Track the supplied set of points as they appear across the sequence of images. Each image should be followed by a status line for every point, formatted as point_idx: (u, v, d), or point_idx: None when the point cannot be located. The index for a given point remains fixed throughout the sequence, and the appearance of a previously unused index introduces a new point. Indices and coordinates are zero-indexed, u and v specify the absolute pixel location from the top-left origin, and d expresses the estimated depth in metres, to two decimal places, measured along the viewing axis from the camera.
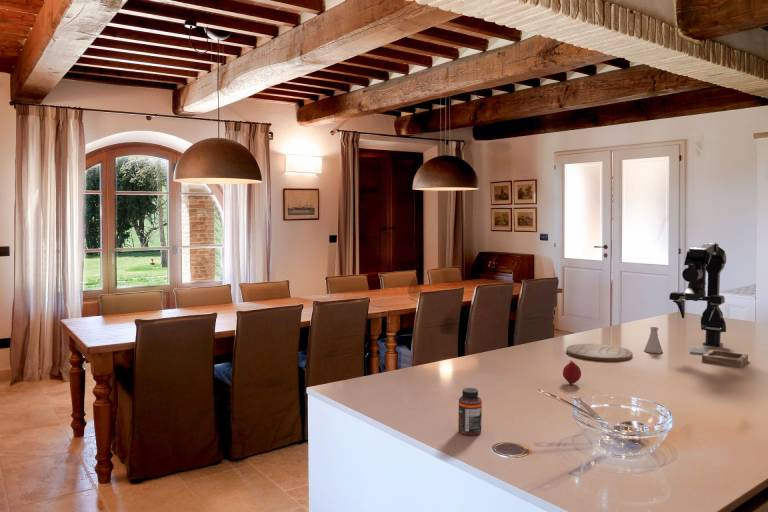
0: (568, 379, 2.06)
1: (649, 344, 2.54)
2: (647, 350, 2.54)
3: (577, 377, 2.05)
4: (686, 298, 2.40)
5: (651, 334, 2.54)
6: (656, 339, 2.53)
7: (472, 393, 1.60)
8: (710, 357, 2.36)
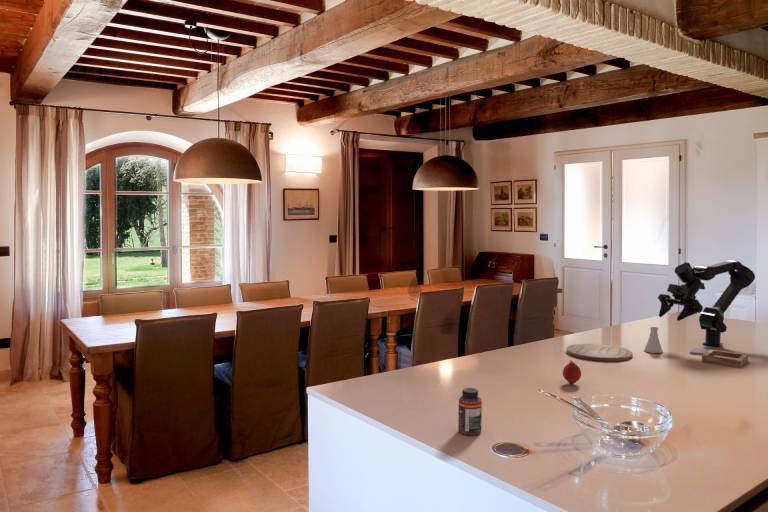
0: (568, 379, 2.06)
1: (649, 344, 2.54)
2: (647, 350, 2.54)
3: (577, 377, 2.05)
4: (668, 289, 2.58)
5: (651, 334, 2.54)
6: (656, 339, 2.53)
7: (472, 393, 1.60)
8: (710, 357, 2.36)
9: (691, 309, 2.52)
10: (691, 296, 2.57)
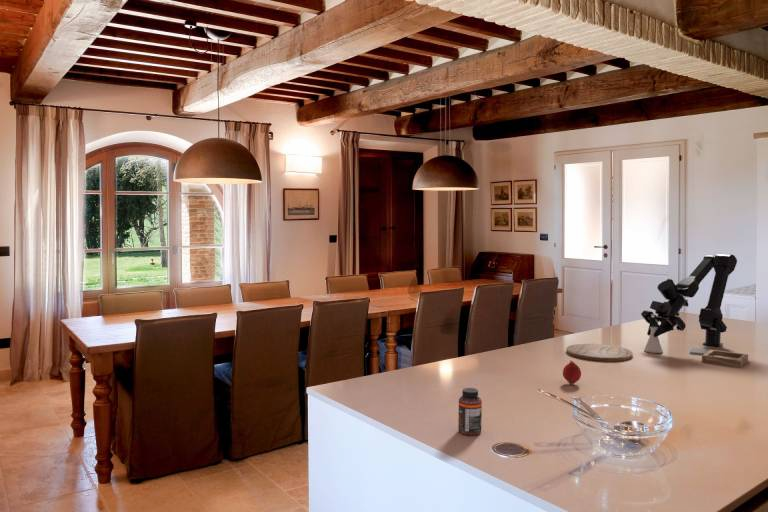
0: (568, 379, 2.06)
1: (649, 343, 2.54)
2: (647, 350, 2.54)
3: (577, 377, 2.05)
4: (650, 306, 2.55)
5: (651, 334, 2.54)
6: (656, 339, 2.53)
7: (472, 393, 1.60)
8: (710, 357, 2.36)
9: (668, 325, 2.52)
10: (674, 313, 2.54)
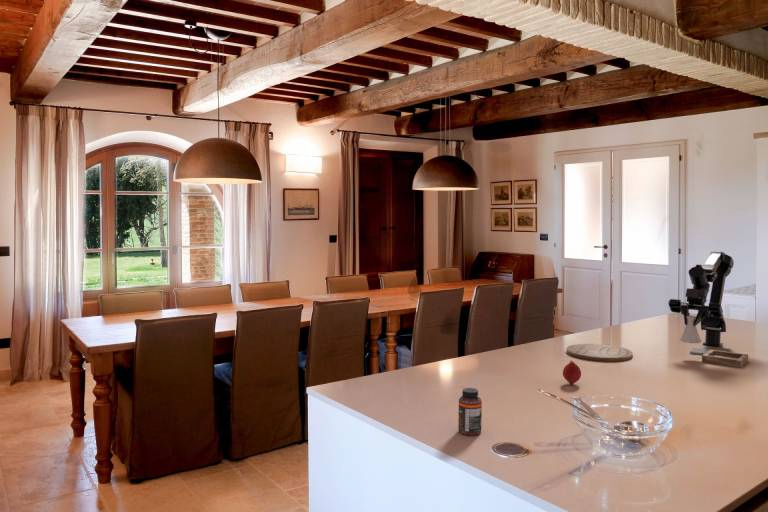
0: (568, 379, 2.06)
1: (689, 334, 2.42)
2: (688, 341, 2.41)
3: (577, 377, 2.05)
4: (687, 294, 2.43)
5: (690, 324, 2.42)
6: (695, 328, 2.42)
7: (472, 393, 1.60)
8: (710, 357, 2.36)
9: (705, 313, 2.43)
10: (705, 300, 2.46)
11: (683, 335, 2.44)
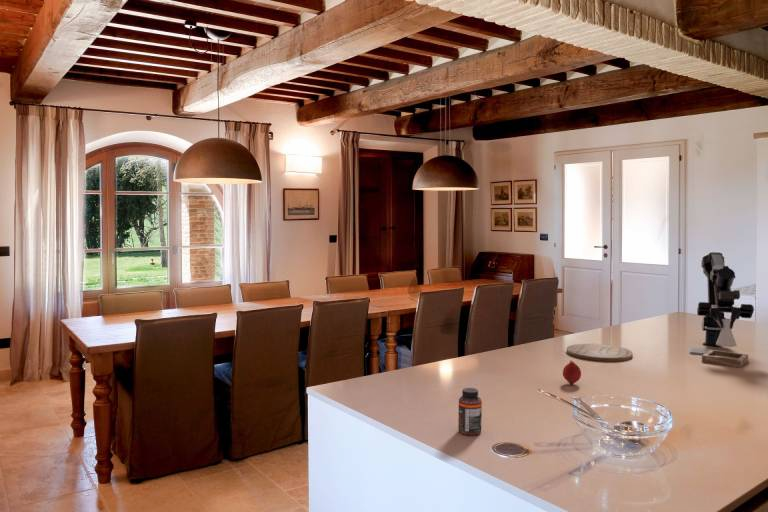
0: (568, 379, 2.06)
1: (727, 337, 2.36)
2: (728, 345, 2.35)
3: (577, 377, 2.05)
4: (722, 296, 2.37)
5: (727, 327, 2.37)
6: (731, 331, 2.37)
7: (472, 393, 1.60)
8: (710, 357, 2.36)
9: None
10: None
11: (720, 339, 2.37)
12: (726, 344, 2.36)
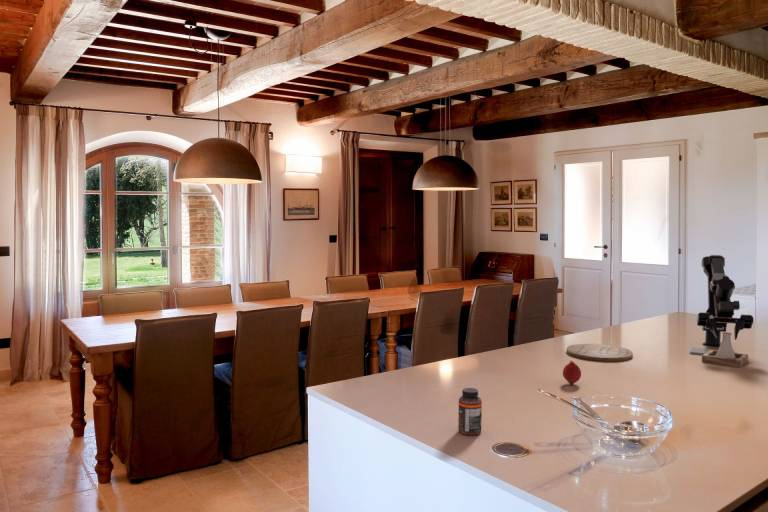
0: (568, 379, 2.06)
1: (728, 351, 2.36)
2: None
3: (577, 377, 2.05)
4: (722, 307, 2.38)
5: (727, 340, 2.37)
6: (731, 345, 2.38)
7: (472, 393, 1.60)
8: (710, 357, 2.36)
9: (740, 325, 2.39)
10: None
11: (720, 353, 2.38)
12: None
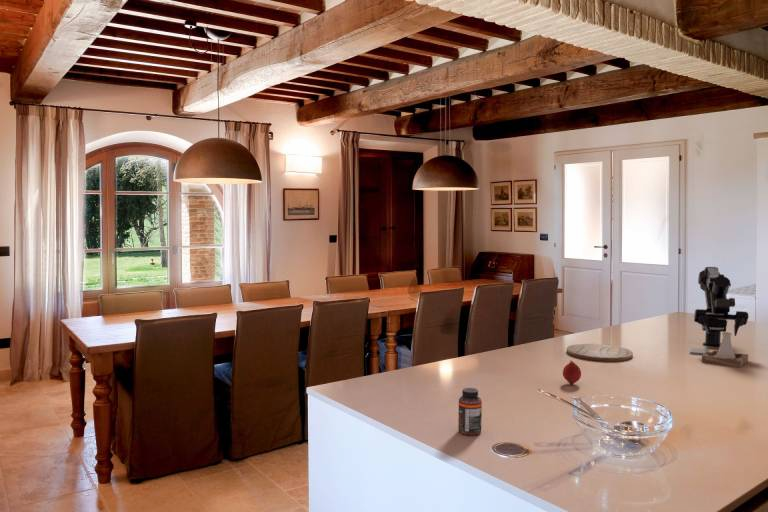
0: (568, 379, 2.06)
1: (728, 351, 2.36)
2: None
3: (577, 377, 2.05)
4: (718, 304, 2.46)
5: (727, 340, 2.37)
6: (731, 345, 2.38)
7: (472, 393, 1.60)
8: (710, 357, 2.36)
9: None
10: None
11: (720, 353, 2.38)
12: None
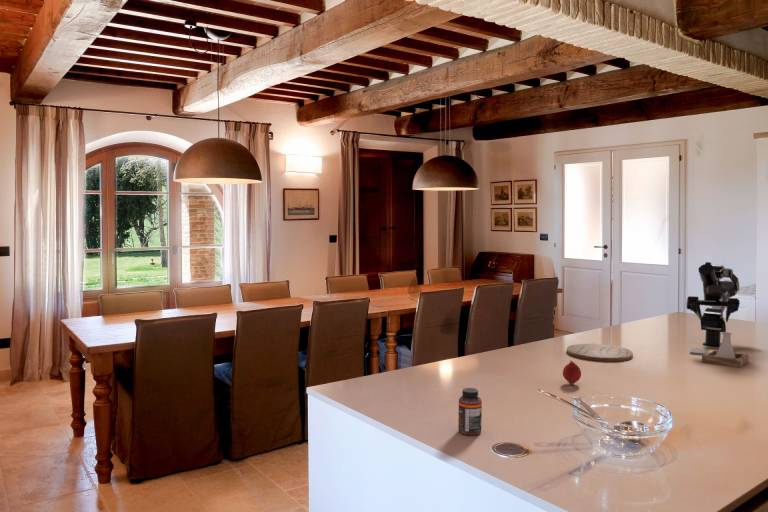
0: (568, 379, 2.06)
1: (728, 351, 2.36)
2: None
3: (577, 377, 2.05)
4: (710, 290, 2.50)
5: (727, 340, 2.37)
6: (731, 345, 2.38)
7: (472, 393, 1.60)
8: (710, 357, 2.36)
9: (732, 308, 2.51)
10: None
11: (720, 353, 2.38)
12: None
